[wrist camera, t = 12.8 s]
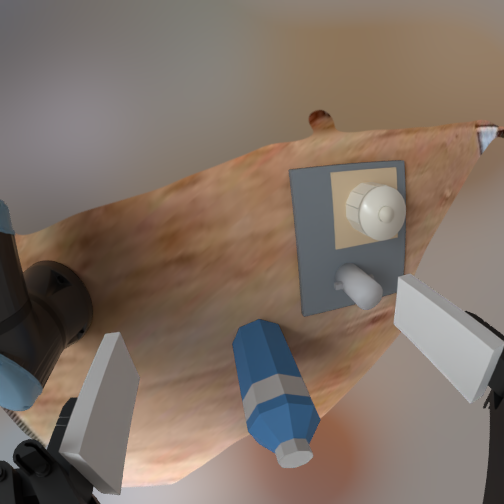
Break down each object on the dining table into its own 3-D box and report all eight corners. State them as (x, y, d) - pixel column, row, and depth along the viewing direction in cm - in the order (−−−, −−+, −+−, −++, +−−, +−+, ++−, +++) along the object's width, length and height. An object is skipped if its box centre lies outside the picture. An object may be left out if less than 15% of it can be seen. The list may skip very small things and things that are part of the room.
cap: (336, 202, 43) (354, 209, 38) (373, 172, 42) (394, 175, 37) (361, 241, 46) (379, 253, 40) (395, 212, 45) (416, 220, 40)
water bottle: (259, 309, 49) (302, 427, 25) (295, 337, 52) (349, 447, 28) (221, 344, 50) (237, 468, 26) (258, 369, 53) (291, 482, 29)
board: (301, 313, 50) (319, 343, 41) (288, 169, 42) (309, 174, 33) (398, 288, 52) (426, 310, 43) (399, 160, 44) (435, 164, 35)
